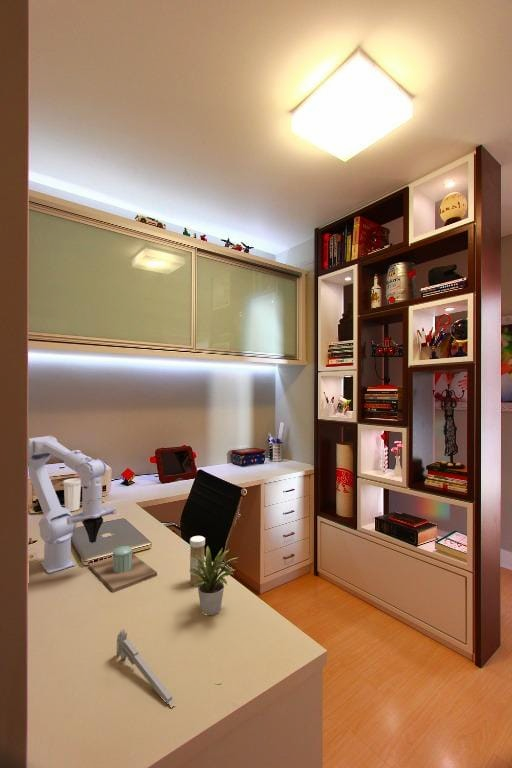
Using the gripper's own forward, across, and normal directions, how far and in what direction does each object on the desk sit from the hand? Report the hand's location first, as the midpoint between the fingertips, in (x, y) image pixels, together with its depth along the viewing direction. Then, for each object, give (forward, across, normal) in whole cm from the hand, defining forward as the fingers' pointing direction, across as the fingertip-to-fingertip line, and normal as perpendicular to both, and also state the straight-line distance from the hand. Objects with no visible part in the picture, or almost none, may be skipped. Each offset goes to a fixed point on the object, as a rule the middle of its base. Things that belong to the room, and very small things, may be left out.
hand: (92, 541), depth 116 cm
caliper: (+12, -7, -50) cm, 52 cm away
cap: (+10, +8, -4) cm, 13 cm away
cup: (+10, +15, +70) cm, 72 cm away
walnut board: (+11, +8, -4) cm, 14 cm away
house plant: (+12, +16, -41) cm, 46 cm away
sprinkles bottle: (+11, +22, -26) cm, 36 cm away
